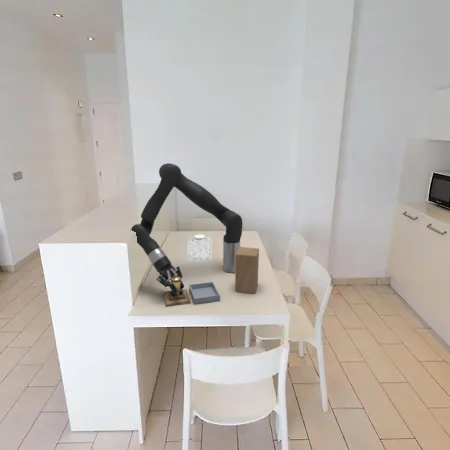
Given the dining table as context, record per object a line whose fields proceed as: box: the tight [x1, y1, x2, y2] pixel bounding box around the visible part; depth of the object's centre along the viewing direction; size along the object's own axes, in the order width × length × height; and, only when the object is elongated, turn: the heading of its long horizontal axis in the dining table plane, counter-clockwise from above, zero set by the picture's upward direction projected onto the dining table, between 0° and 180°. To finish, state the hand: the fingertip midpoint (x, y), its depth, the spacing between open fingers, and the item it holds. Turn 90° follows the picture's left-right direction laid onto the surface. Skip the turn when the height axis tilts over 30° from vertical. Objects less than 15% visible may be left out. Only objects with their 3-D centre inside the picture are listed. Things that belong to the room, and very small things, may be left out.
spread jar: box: [193, 233, 206, 240], centre depth 211 cm, size 12×11×12 cm
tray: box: [188, 281, 221, 305], centre depth 160 cm, size 12×14×3 cm
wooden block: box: [234, 246, 260, 295], centre depth 164 cm, size 10×10×20 cm
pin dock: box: [163, 288, 192, 307], centre depth 157 cm, size 11×12×3 cm
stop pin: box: [171, 275, 182, 297], centre depth 156 cm, size 4×4×10 cm
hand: (179, 289), depth 155 cm, fingers closed on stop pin, 4 cm apart
